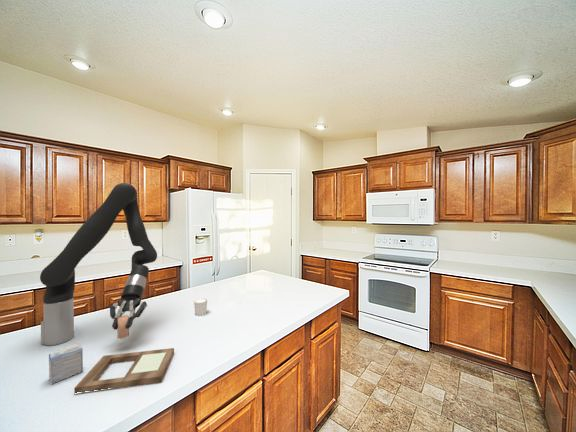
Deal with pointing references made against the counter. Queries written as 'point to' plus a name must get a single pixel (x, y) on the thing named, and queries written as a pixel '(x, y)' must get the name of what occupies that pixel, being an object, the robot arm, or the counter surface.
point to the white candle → (200, 307)
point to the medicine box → (65, 363)
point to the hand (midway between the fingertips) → (121, 328)
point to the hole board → (142, 371)
